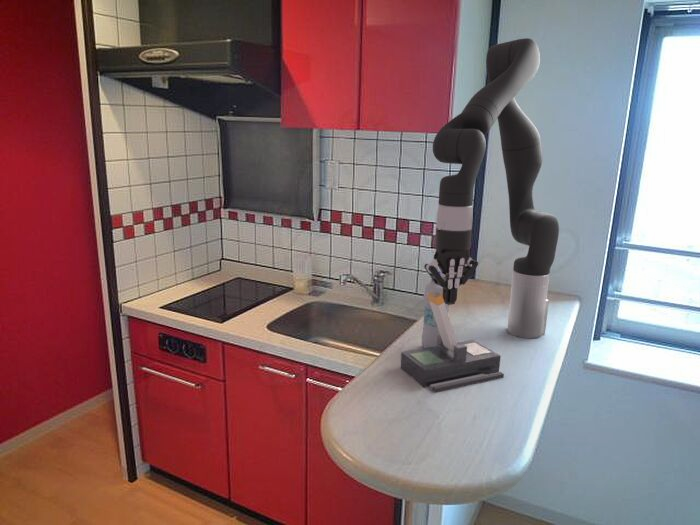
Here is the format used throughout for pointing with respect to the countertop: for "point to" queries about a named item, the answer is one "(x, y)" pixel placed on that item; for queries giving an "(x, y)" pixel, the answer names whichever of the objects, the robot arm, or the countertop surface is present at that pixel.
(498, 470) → the countertop surface
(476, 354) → the switch box
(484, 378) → the dark grey bar
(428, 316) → the bottle
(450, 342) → the lever
